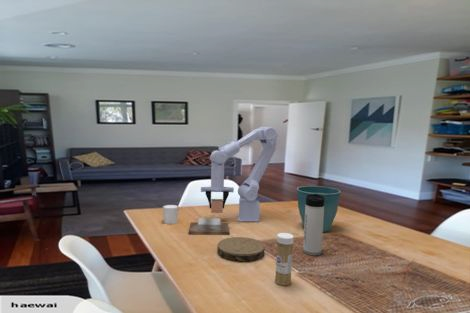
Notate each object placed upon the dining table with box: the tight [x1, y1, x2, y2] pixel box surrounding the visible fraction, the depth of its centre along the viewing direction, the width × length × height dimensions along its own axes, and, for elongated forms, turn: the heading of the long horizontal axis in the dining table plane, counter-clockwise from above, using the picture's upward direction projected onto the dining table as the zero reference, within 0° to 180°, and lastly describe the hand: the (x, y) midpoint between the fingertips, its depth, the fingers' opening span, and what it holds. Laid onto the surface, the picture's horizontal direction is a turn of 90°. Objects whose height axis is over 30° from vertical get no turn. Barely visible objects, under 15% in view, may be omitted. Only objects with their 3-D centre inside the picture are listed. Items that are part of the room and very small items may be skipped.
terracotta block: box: [210, 198, 224, 214], centre depth 145 cm, size 5×5×5 cm
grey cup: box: [162, 204, 179, 225], centre depth 142 cm, size 7×7×7 cm
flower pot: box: [296, 185, 341, 233], centre depth 140 cm, size 18×18×17 cm
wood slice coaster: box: [216, 236, 265, 263], centre depth 110 cm, size 16×16×3 cm
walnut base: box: [188, 217, 230, 236], centre depth 133 cm, size 16×12×4 cm
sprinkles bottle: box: [274, 232, 295, 286], centre depth 90 cm, size 5×5×14 cm
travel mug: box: [302, 194, 325, 256], centre depth 112 cm, size 6×7×20 cm
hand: (216, 207), depth 145 cm, fingers closed on terracotta block, 5 cm apart
